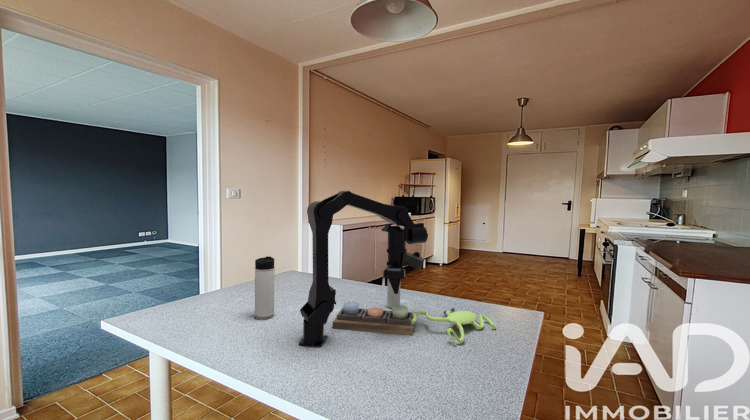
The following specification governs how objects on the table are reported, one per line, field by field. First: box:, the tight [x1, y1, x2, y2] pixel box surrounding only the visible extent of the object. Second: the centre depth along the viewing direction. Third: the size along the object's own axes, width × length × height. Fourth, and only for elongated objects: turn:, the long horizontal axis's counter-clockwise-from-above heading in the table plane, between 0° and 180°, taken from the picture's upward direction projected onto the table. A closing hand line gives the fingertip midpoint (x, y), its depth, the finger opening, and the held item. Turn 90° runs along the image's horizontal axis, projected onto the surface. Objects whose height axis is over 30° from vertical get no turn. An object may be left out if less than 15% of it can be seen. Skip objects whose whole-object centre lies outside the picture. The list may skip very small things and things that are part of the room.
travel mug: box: [254, 256, 275, 321], centre depth 111 cm, size 6×7×20 cm
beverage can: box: [386, 279, 401, 310], centre depth 123 cm, size 5×5×12 cm
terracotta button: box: [367, 307, 383, 318], centre depth 106 cm, size 5×5×2 cm
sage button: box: [391, 304, 409, 319], centre depth 104 cm, size 5×5×2 cm
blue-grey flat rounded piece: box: [343, 301, 360, 315], centre depth 107 cm, size 5×5×2 cm
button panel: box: [332, 306, 415, 336], centre depth 106 cm, size 12×25×4 cm, turn 80°
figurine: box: [411, 308, 497, 348], centre depth 104 cm, size 18×27×6 cm
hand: (396, 293), depth 105 cm, fingers closed
